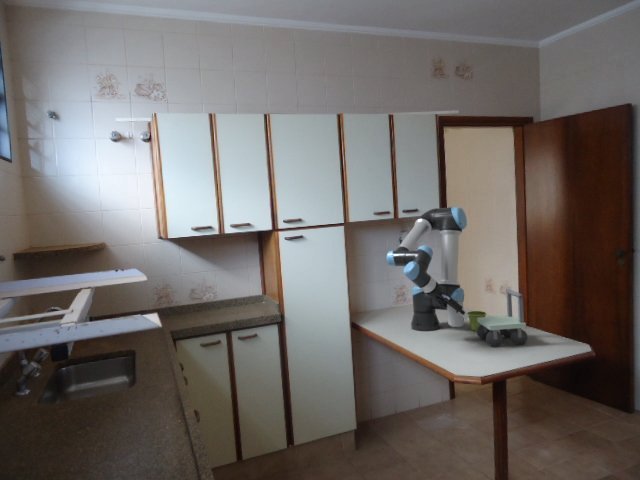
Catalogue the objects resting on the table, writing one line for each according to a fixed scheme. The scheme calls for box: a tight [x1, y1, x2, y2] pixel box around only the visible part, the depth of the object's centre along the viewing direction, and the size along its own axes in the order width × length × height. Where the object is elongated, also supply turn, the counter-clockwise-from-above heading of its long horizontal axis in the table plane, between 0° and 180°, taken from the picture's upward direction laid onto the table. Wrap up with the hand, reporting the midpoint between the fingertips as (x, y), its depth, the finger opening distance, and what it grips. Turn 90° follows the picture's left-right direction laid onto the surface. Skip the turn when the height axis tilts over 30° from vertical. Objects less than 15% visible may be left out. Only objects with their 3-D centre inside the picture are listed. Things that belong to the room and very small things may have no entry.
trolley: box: [476, 288, 528, 348], centre depth 212 cm, size 16×18×23 cm
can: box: [446, 300, 465, 328], centre depth 219 cm, size 8×8×12 cm
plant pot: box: [466, 310, 487, 332], centre depth 235 cm, size 9×9×9 cm
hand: (461, 315), depth 220 cm, fingers closed on can, 7 cm apart
